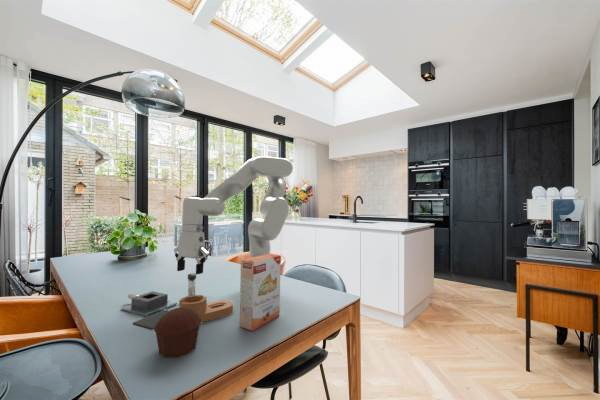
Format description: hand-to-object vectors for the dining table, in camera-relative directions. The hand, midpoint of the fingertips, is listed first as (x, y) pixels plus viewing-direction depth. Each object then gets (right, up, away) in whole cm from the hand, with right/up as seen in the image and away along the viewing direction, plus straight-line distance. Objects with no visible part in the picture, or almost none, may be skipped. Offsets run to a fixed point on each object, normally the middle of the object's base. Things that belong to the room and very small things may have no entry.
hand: (190, 272), depth 105 cm
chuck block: (-13, -11, -7) cm, 18 cm away
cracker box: (+31, -11, -18) cm, 37 cm away
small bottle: (0, -11, 0) cm, 11 cm away
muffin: (+11, -11, -35) cm, 38 cm away
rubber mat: (-3, -11, -18) cm, 21 cm away
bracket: (+12, -11, -14) cm, 22 cm away
